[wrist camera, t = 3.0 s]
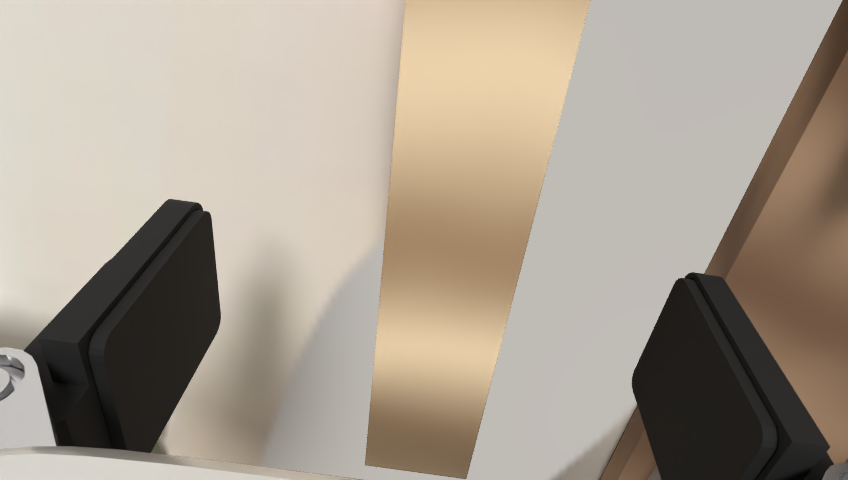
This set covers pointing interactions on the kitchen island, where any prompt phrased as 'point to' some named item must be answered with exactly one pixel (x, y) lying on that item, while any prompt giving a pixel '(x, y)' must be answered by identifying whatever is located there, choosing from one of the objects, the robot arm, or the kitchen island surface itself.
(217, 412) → the kitchen island surface
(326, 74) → the kitchen island surface
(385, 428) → the oak slat
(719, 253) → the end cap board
